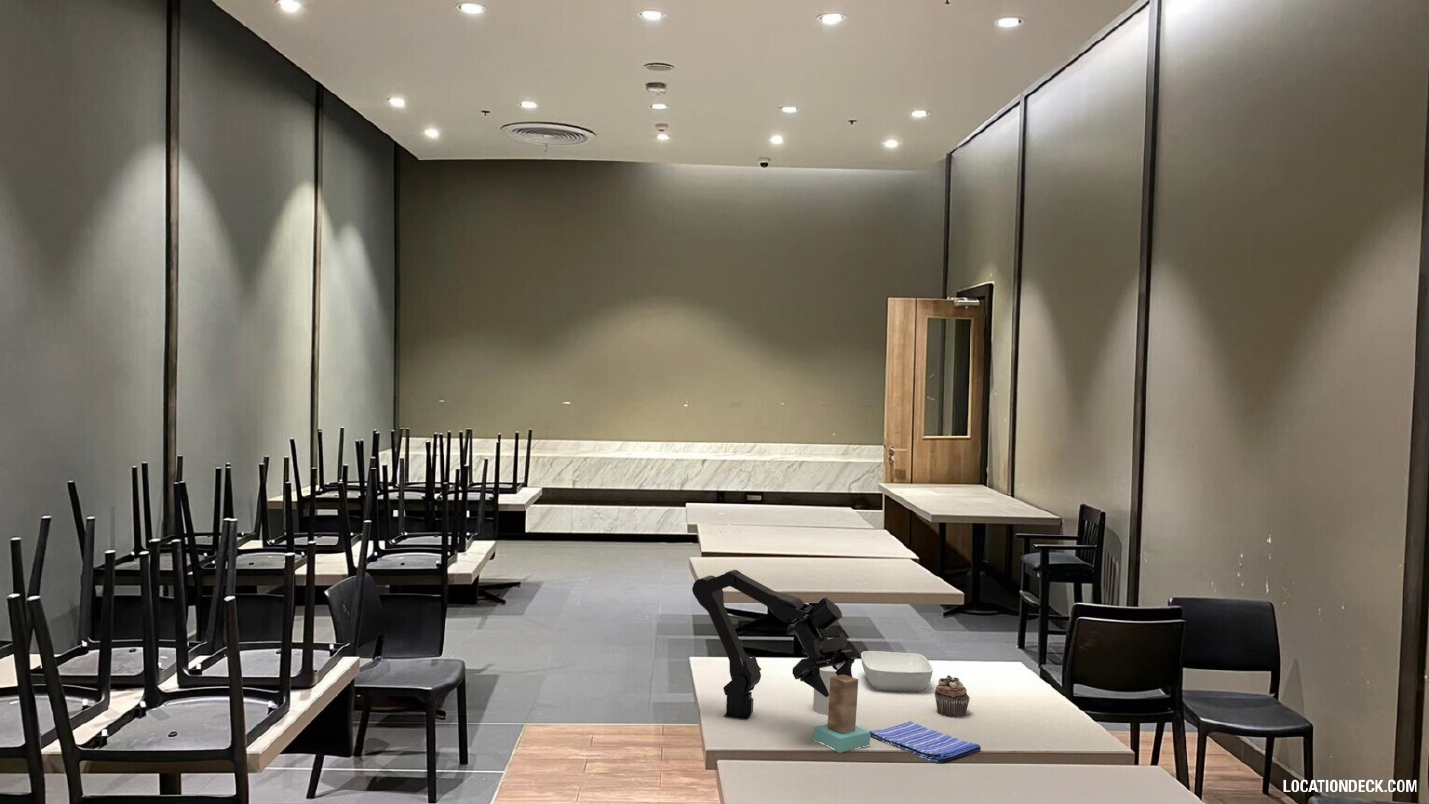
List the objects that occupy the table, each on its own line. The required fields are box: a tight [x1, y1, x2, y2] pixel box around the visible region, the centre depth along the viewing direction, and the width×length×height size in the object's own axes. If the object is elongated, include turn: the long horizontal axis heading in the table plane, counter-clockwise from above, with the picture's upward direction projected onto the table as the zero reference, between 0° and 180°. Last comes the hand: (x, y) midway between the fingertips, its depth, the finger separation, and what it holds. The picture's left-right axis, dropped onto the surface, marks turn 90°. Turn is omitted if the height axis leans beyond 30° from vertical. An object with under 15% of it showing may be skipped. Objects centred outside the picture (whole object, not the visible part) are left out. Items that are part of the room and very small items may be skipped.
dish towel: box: [869, 720, 982, 764], centre depth 269 cm, size 17×24×3 cm
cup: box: [812, 666, 837, 716], centre depth 293 cm, size 8×8×12 cm
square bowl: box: [860, 650, 934, 693], centre depth 320 cm, size 20×20×8 cm
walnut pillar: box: [827, 675, 859, 734], centre depth 267 cm, size 5×5×13 cm
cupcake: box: [934, 675, 971, 718], centre depth 295 cm, size 10×10×10 cm
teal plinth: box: [813, 723, 871, 754], centre depth 267 cm, size 10×10×4 cm
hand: (840, 693), depth 268 cm, fingers open, 9 cm apart
